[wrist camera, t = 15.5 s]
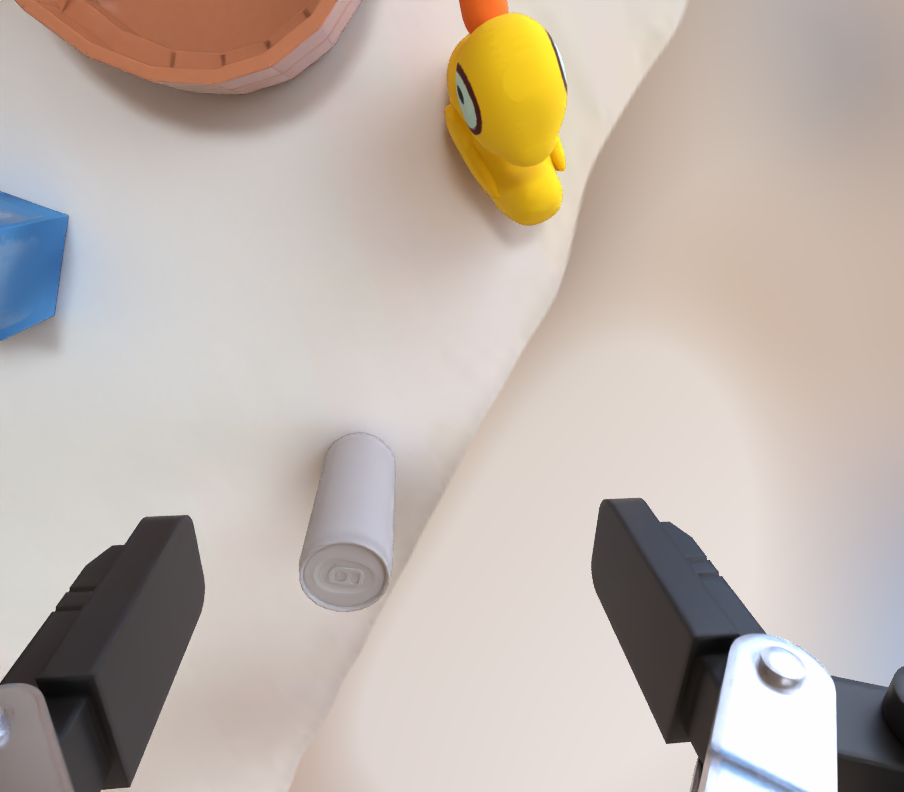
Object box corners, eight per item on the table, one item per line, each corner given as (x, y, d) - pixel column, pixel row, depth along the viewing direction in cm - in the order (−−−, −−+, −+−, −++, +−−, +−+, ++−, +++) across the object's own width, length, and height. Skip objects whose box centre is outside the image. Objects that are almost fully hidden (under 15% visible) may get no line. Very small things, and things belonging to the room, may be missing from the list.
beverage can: (332, 422, 38) (304, 532, 27) (402, 436, 39) (401, 547, 28) (321, 482, 40) (289, 607, 29) (387, 493, 41) (381, 619, 30)
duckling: (406, 22, 29) (407, -34, 20) (502, -22, 29) (547, -100, 20) (481, 230, 34) (510, 260, 25) (565, 195, 34) (626, 212, 24)
